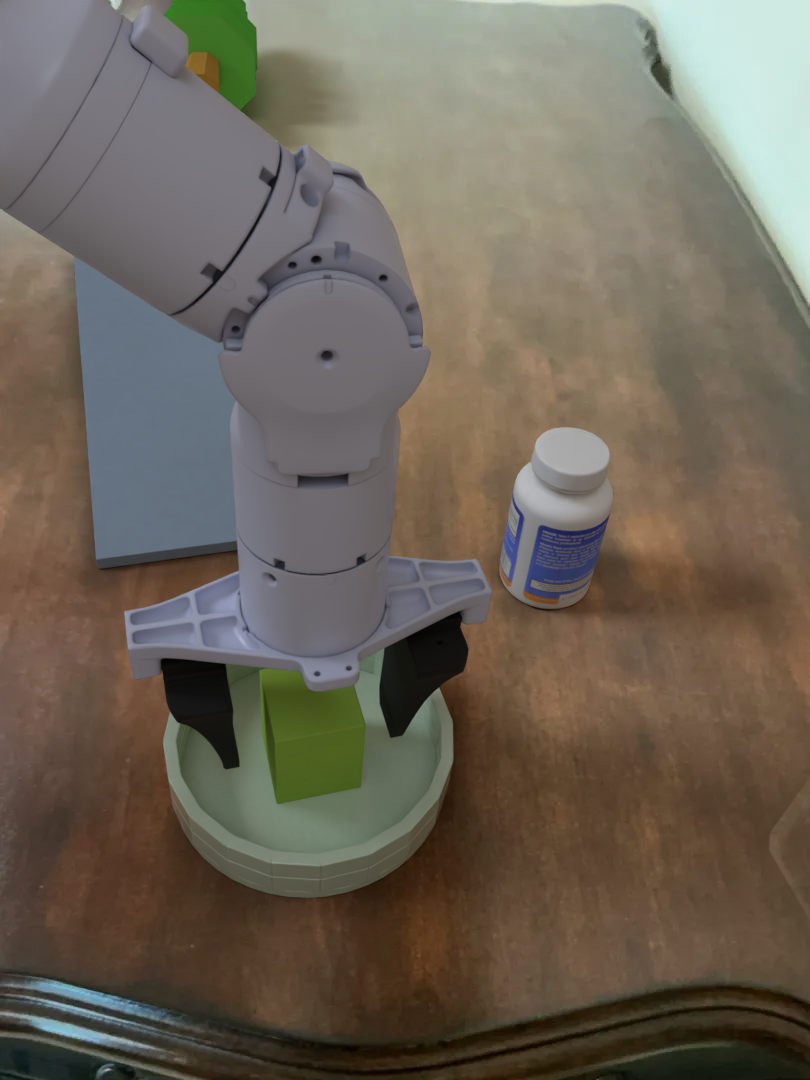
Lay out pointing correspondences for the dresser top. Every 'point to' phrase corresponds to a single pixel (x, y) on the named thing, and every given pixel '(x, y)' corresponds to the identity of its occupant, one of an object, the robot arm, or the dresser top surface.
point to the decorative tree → (219, 45)
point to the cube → (310, 736)
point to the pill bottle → (557, 519)
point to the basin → (317, 822)
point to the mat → (152, 429)
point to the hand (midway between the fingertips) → (311, 734)
